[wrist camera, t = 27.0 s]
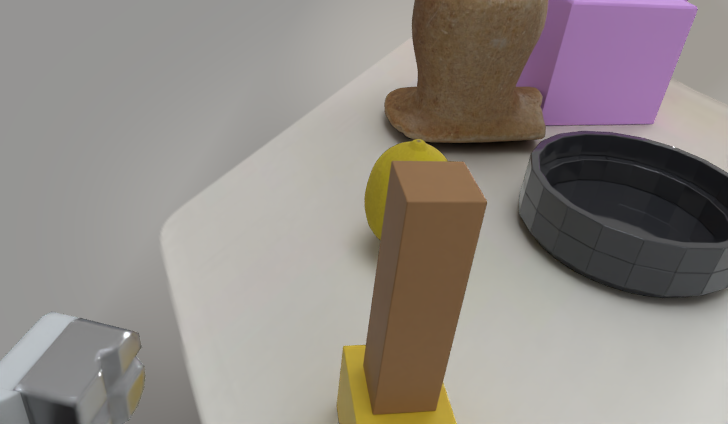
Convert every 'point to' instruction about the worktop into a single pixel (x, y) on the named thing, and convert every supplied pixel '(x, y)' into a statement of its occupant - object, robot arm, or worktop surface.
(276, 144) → the worktop surface
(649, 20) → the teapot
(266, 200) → the worktop surface
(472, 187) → the sponge wand
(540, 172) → the bowl
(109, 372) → the robot arm
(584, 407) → the worktop surface
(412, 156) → the lemon
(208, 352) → the worktop surface
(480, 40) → the stone cup
